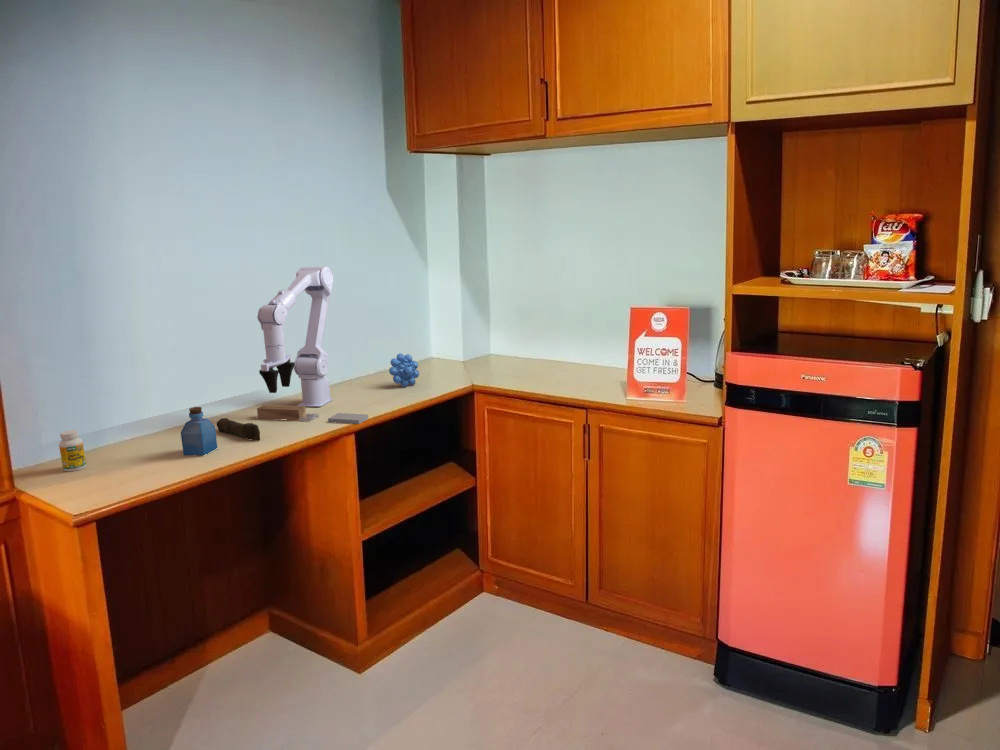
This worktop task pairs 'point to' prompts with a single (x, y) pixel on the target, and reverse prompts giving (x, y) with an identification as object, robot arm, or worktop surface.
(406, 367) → the grapes
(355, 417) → the tile
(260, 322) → the robot arm
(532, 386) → the worktop surface
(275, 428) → the worktop surface
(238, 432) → the hand tool
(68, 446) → the supplement bottle
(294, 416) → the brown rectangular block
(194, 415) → the perfume bottle
